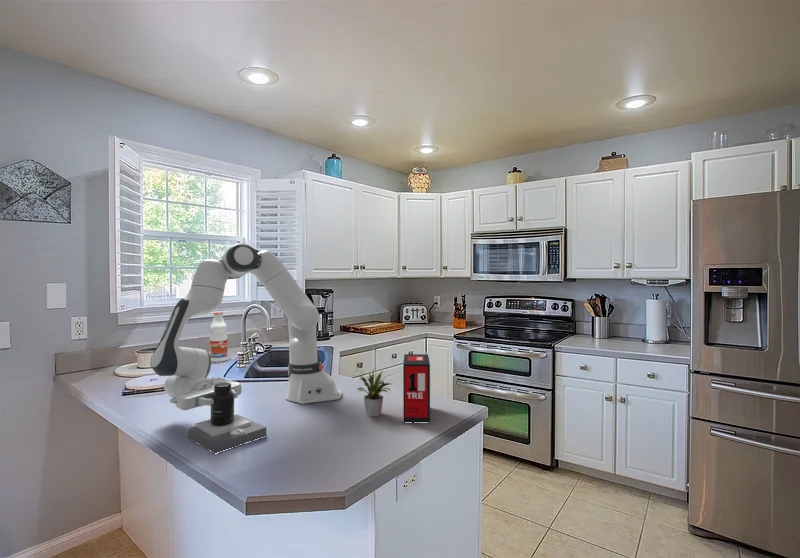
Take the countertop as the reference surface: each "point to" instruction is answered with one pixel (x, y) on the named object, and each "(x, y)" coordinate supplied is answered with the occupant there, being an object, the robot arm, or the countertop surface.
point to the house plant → (373, 394)
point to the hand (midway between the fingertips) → (224, 399)
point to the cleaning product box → (416, 388)
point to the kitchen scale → (226, 433)
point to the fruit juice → (218, 339)
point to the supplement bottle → (222, 405)
